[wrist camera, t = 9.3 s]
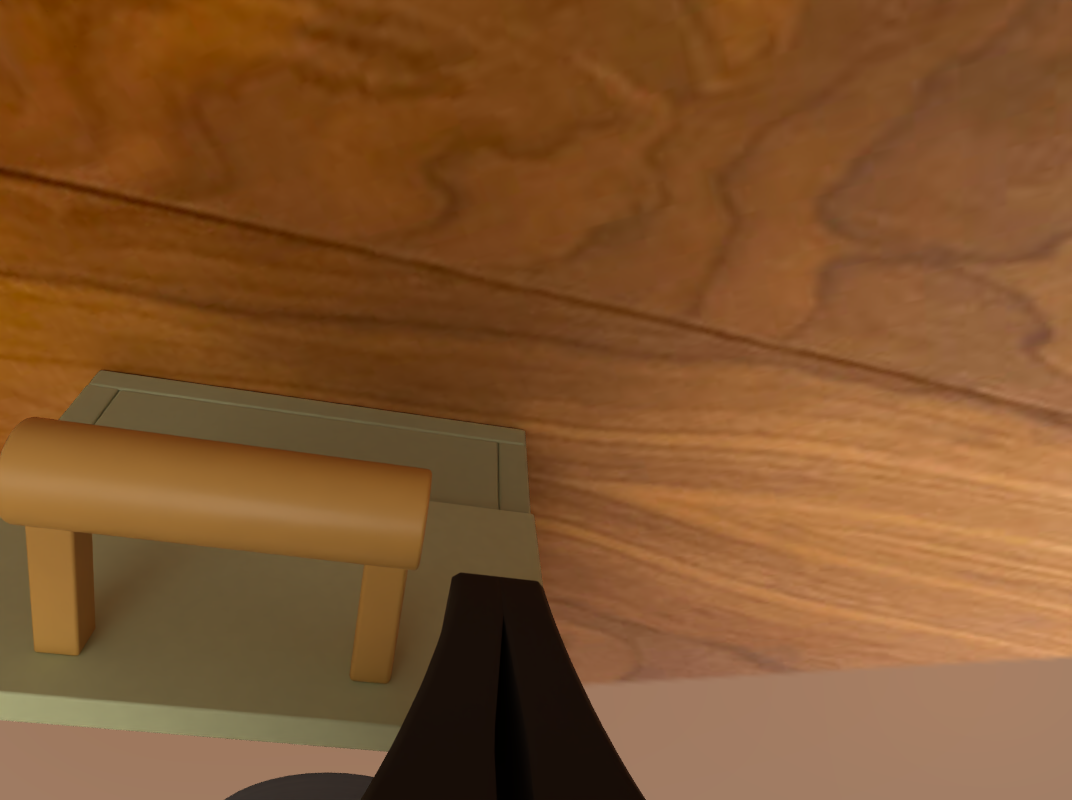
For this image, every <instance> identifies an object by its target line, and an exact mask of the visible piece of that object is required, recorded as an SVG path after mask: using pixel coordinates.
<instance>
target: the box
mask: <svg viewBox="0 0 1072 800" xmlns="http://www.w3.org/2000/svg"><path fill="white" fill-rule="evenodd" d="M59 420H62V421H69V422H77V423H84V424H92V425H100V426H107V427H115V428H122V429H130V430H137V431H145V432H152V433H160V434H168V435H175V436H183V437H190V438H198V439H205V440H213V441H220V442H228V443H236V444H243V445H251V446H258V447H266V448H273V449H281V450H288V451H296V452H304V453H311V454H319V455H326V456H334V457H341V458H349V459H356V460H364V461H372V462H379V463H387V464H394V465H402V466H409V467H417V468H424V469H429V470H431V472H432V482H431V492H430V500H429V501H433V502H441V503H449V504H457V505H465V506H473V507H481V508H489V509H497V510H504V511H512V512H520V513H528V514H531V511H530V496H529V481H528V465H527V450H526V435H525V431H524V430H520V429H513V428H506V427H499V426H492V425H485V424H478V423H471V422H464V421H457V420H450V419H443V418H436V417H429V416H422V415H415V414H407V413H400V412H393V411H386V410H379V409H372V408H365V407H358V406H351V405H344V404H337V403H330V402H323V401H316V400H309V399H302V398H295V397H287V396H280V395H273V394H266V393H259V392H252V391H245V390H238V389H231V388H224V387H217V386H210V385H203V384H196V383H189V382H182V381H175V380H167V379H160V378H153V377H146V376H139V375H132V374H125V373H118V372H111V371H104V370H101V371H99V372H98V373H97V374H96V375H95V377H94V378H93V379H92V380H91V382H90V383H89V385H87V386H86V387H85V388H84V389H83V391H82V392H81V393H80V394H79V396H78V397H77V398H76V399H75V400H74V402H73V403H72V404H71V405H70V407H69V408H68V409H67V410H66V411H65V413H64V414H63V415H62V416H61V418H60V419H59Z"/></svg>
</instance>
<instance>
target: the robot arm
mask: <svg viewBox="0 0 1072 800" xmlns="http://www.w3.org/2000/svg"><path fill="white" fill-rule="evenodd" d="M361 800H646V799H645V798H644V796H643V795H642V793H641V792H640V790H639V788H638V787H637V785H636V784H635V782H634V780H633V779H632V777H631V775H630V774H629V772H628V771H627V769H626V767H625V766H624V764H623V762H622V760H621V758H620V757H619V755H618V753H617V752H616V750H615V748H614V746H613V744H612V742H611V741H610V739H609V737H608V735H607V733H606V731H605V730H604V728H603V726H602V724H601V722H600V720H599V718H598V716H597V714H596V712H595V711H594V709H593V707H592V705H591V703H590V700H589V698H588V696H587V694H586V692H585V690H584V688H583V686H582V684H581V682H580V679H579V677H578V675H577V673H576V671H575V669H574V667H573V664H572V662H571V660H570V658H569V655H568V653H567V651H566V648H565V646H564V643H563V641H562V638H561V636H560V634H559V631H558V628H557V626H556V623H555V621H554V618H553V615H552V613H551V610H550V607H549V604H548V601H547V598H546V595H545V592H544V589H543V587H542V585H541V584H540V583H539V582H538V581H533V580H524V579H515V578H506V577H498V576H489V575H480V574H471V573H462V572H460V573H458V574H457V575H455V576H453V577H452V579H451V585H450V590H449V595H448V600H447V605H446V610H445V615H444V620H443V625H442V630H441V634H440V637H439V640H438V643H437V646H436V648H435V651H434V653H433V656H432V658H431V661H430V664H429V666H428V669H427V671H426V674H425V676H424V679H423V681H422V684H421V686H420V688H419V690H418V692H417V695H416V697H415V699H414V701H413V703H412V705H411V707H410V709H409V711H408V714H407V716H406V718H405V720H404V722H403V724H402V726H401V728H400V730H399V732H398V734H397V736H396V738H395V740H394V742H393V744H392V746H391V748H390V749H389V751H388V753H387V755H386V757H385V759H384V761H383V762H382V764H381V766H380V768H379V770H378V771H377V773H376V775H375V777H374V778H373V780H372V782H371V783H370V785H369V787H368V789H367V790H366V792H365V794H364V795H363V797H362V798H361Z"/></svg>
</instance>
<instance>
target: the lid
mask: <svg viewBox="0 0 1072 800" xmlns="http://www.w3.org/2000/svg"><path fill="white" fill-rule="evenodd" d="M431 482H432V472H431V470H429V469H424V468H417V467H409V466H402V465H394V464H387V463H379V462H372V461H364V460H356V459H349V458H341V457H334V456H326V455H319V454H311V453H304V452H296V451H288V450H281V449H273V448H266V447H258V446H251V445H243V444H236V443H228V442H220V441H213V440H205V439H198V438H190V437H183V436H175V435H168V434H160V433H152V432H145V431H137V430H130V429H122V428H115V427H107V426H100V425H92V424H84V423H77V422H69V421H62V420H54V419H47V418H39V417H31V418H27V419H25V420H23V421H22V422H20V423H19V424H18V425H17V426H16V427H15V428H14V430H13V431H12V432H11V434H10V435H9V437H8V439H7V441H6V443H5V445H4V447H3V449H2V452H1V455H0V720H6V721H18V722H30V723H43V724H56V725H67V726H79V727H92V728H104V729H116V730H128V731H141V732H153V733H166V734H177V735H190V736H202V737H214V738H227V739H239V740H251V741H263V742H277V743H289V744H300V745H313V746H324V747H338V748H350V749H361V750H362V749H363V750H373V751H386V752H388V751H389V749H390V748H391V746H392V744H393V742H394V740H395V738H396V736H397V734H398V732H399V730H400V728H401V726H402V724H403V722H404V720H405V718H406V716H407V714H408V711H409V709H410V707H411V705H412V703H413V701H414V699H415V697H416V695H417V692H418V690H419V688H420V686H421V684H422V681H423V679H424V676H425V674H426V671H427V669H428V666H429V664H430V661H431V658H432V656H433V653H434V651H435V648H436V646H437V643H438V640H439V637H440V634H441V630H442V625H443V620H444V615H445V610H446V605H447V600H448V595H449V590H450V585H451V579H452V577H453V576H455V575H457V574H458V573H460V572H462V573H471V574H480V575H489V576H498V577H506V578H515V579H524V580H533V581H538V582H539V583H540V584H541V585H542V587H543V582H542V574H541V566H540V558H539V550H538V542H537V534H536V526H535V518H534V515H533V514H528V513H520V512H512V511H504V510H497V509H489V508H481V507H473V506H465V505H457V504H449V503H441V502H433V501H429V500H430V492H431Z"/></svg>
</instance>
